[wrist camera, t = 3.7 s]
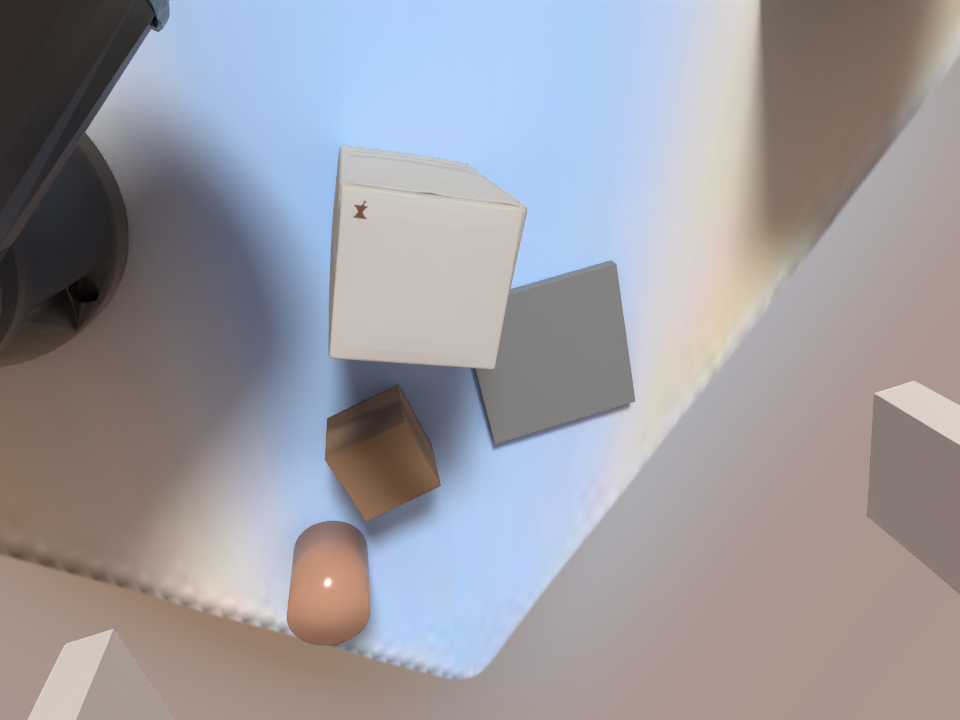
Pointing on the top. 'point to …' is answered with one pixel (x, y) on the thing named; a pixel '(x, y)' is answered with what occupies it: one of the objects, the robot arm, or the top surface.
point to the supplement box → (419, 260)
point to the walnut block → (380, 453)
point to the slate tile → (558, 354)
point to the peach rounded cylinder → (329, 584)
